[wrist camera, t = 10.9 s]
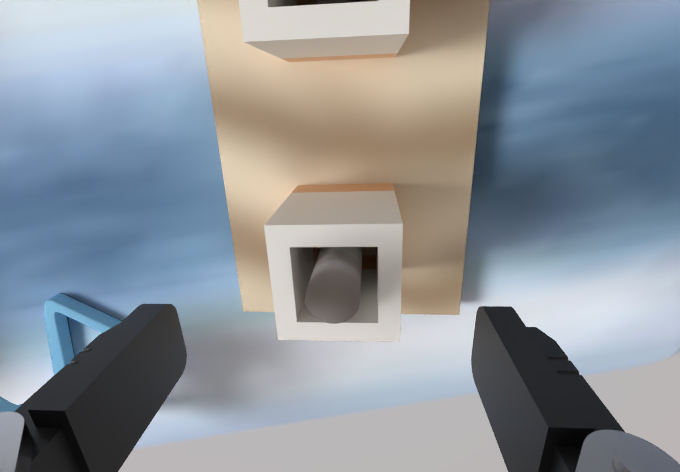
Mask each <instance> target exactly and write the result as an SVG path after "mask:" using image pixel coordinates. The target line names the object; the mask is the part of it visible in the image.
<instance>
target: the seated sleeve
mask: <svg viewBox="0 0 680 472" xmlns="http://www.w3.org/2000/svg"><path fill="white" fill-rule="evenodd" d="M239 9H240V18H241V26H242V35H243V42H244V43H247V44H249V45H251V46H253V47H256V48H258V49H260V50H262V51H265V52H267V53H269V54H271V55H274V56H276V57H278V58H280V59H283V60H285V61H287V62H303V61H325V60H347V59H369V58H392V57H396V55H397V53H398V51H399V50H400V48H401V46H402V45H403V43H404V41H405V39H406V38H407V36H408V34H409V15H410V0H376V1H369V2H352V3H335V4H318V5H303V0H239Z"/></svg>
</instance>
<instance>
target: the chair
mask: <svg viewBox="0 0 680 472" xmlns="http://www.w3.org/2000/svg"><path fill="white" fill-rule="evenodd" d="M67 316H68V317H70V318H72V319H74V320H76V321H78V322H81V323H83V324H85V325H87V326H89V327H91V328H93V329H95V330H98V331H100V332H102V333H103V332H105V331H107V330H108V329H110V328H112V327H114V326H115V325H117V324H119V323H121V322H122V321H120V320H118V319H116V318H114V317H112V316H109V315H107V314H105V313H103V312H101V311H99V310H97V309H94V308H92V307H90V306H88V305H86V304H84V303H82V302H79V301H77V300H75V299H73V298H71V297H69V296H67V295H64V294H57V295H55V296H53V297H52V298H50V299H48V300H47V301H46V302H45V305H44V318H45V325H46V331H47V337H48V343H49V348H50V354H51V359H52V365H53V371H54V375H55V374H57V373H58V372H59V371H60V370H61V369H62V368H63V367H64V366H65V365H66V364H70V362H71V360H72V359H73V358H74V352H73V347H72V342H71V337H70V332H69V327H68V321H67ZM21 405H22V404H20V405H15V404H13V403H11V402H9V401H7V400H5V399H4V398H2V397H0V412H14V411H15V410H17V409H18V408H19V407H20V406H21Z"/></svg>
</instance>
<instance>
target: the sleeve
mask: <svg viewBox="0 0 680 472" xmlns="http://www.w3.org/2000/svg"><path fill="white" fill-rule="evenodd" d="M264 230H265V239H266V247H267V255H268V263H269V272H270V280H271V288H272V296H273V304H274V313H275V321H276V329H277V337H278V340H315V341H377V342H400V331H401V286H402V240H403V222H402V218H401V214H400V211H399V207H398V203H397V199H396V195H395V191H394V187H393V183H377V184H333V185H298V186H297V187H296V188H295V189H294V190H293V191H292V193H291V194H290V195H289V196H288V197H287V199H286V200H285V201H284V202H283V203H282V205H281V206H280V207H279V208H278V209H277V210H276V212H275V213H274V214H273V215H272V216H271V218H270V219H269V220H268V221H267V222H266V223H265V225H264ZM318 247H376V256H362V271H361V289H360V305H359V308H358V311H357V312H356V314H355V315H354V316H353V317H352V318H351V319H349V320H347V321H345V322H342V323H337V324H330V323H325V322H322V321H320V320H318V319H316V318H315V317H314V316H313V315H312V314H311V313H310V312H309V310H308V309H307V307H306V304H305V293H306V290H307V287H308V284H309V281H310V278H311V275H312V272H313V269H314V266H315V263H316V260H317V257H318Z"/></svg>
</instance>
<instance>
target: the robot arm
mask: <svg viewBox="0 0 680 472" xmlns="http://www.w3.org/2000/svg"><path fill="white" fill-rule="evenodd" d="M186 357H187V354H186V348H185V343H184V339H183V335H182V331H181V326H180V322H179V318H178V314H177V310H176V308H175V307H174V306H173V305H172V304H142V305H140V306H138V307H137V308H136V309H135V310H134V311H133V312H132V313H131V314H130V315H129V316H128V317H127V318H125V319H124V320H123V321H122V322H121V323H119V324H117V325H115V326H114V327H112V328H110V329H108V330H107V331H105V332H103V333H102V334H100V335H99V336H98V337H96V338H95V339H94V340H93V341H92V342H91V343H90V344H89V345H88V346H86V347H85V348H84V351H83V352H80V353H79V354H78V355H76V356H75V357H74V358H73V359H72V360H71V362H70V364H66V365H65V366H64V367H63V368H62V369H61V370H60V371H59V372H58V373H57V374H55V375H54V376H53V377H52V378H51V379H50V380H49V381H48V382H47V383H45V384H44V385H43V386H42V387H41V388H40V389H39V390H38V391H37V392H35V393H34V394H33V395H32V396H31V397H30V398H29V399H28V400H27V401H25V402H24V403H23V404H22V405H21V406H20V407H19V408H18V409H17V410H15V411H14V412H0V472H118V471H119V469H120V468H121V466H122V465H123V463H124V462H125V460H126V458H127V457H128V455H129V454H130V453H131V451H132V450H133V448H134V446H135V445H136V443H137V442H138V440H139V439H140V437H141V436H142V434H143V433H144V431H145V430H146V428H147V427H148V425H149V424H150V422H151V421H152V419H153V418H154V416H155V415H156V413H157V412H158V410H159V409H160V407H161V406H162V404H163V402H164V401H165V399H166V398H167V396H168V395H169V393H170V392H171V390H172V389H173V387H174V386H175V384H176V383H177V381H178V380H179V378H180V377H181V375H182V373H183V371H184V368H185V365H186ZM471 363H472V373H473V378H474V381H475V384H476V387H477V390H478V392H479V395H480V398H481V400H482V403H483V406H484V408H485V411H486V413H487V416H488V419H489V422H490V424H491V427H492V429H493V432H494V435H495V437H496V440H497V443H498V445H499V448H500V451H501V453H502V456H503V459H504V462H505V464H506V467H507V470H508V472H680V464H679V463H678V462H677V461H675V460H674V459H673V458H672V457H671V456H669V455H668V454H667V453H666V452H664V451H663V450H661V449H660V448H659V447H657V446H655V445H654V444H652V443H650V442H648V441H646V440H644V439H642V438H640V437H637V436H635V435H632V434H629V433H626V432H625V431H624V430H623V429H622V427H621V426H620V425H619V424H618V422H617V421H616V420H615V418H614V417H613V416H612V414H611V413H610V412H609V410H608V409H607V408H606V407H605V405H604V404H603V403H602V401H601V400H600V399H599V397H598V396H597V395H596V394H595V392H594V391H593V390H592V388H591V387H590V386H589V385H588V383H587V382H586V380H585V379H584V378H583V376H582V375H579V371H578V370H577V369H576V367H575V366H574V365H573V363H572V362H571V361H568V357H567V356H566V354H565V353H564V352H563V350H562V349H561V348H560V346H559V345H558V344H557V342H556V341H555V340H553V339H552V338H550V337H549V336H548V335H546V334H545V333H543V332H542V331H541V330H539V329H538V328H536V327H526V326H525V325H524V323H523V322H522V320H521V319H520V317H519V316H518V314H517V313H516V311H515V310H514V309H513V308H512V307H488V306H481V307H479V308H478V310H477V314H476V322H475V331H474V339H473V348H472V357H471Z"/></svg>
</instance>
